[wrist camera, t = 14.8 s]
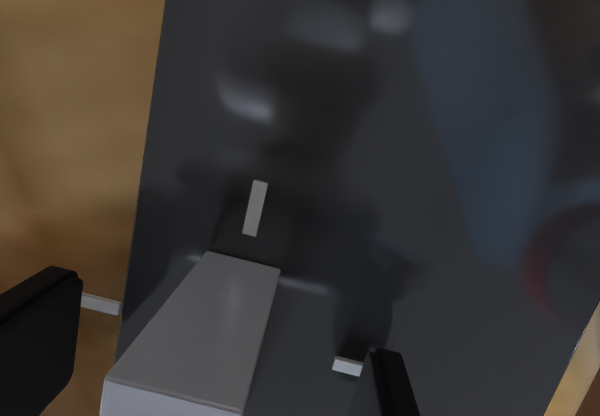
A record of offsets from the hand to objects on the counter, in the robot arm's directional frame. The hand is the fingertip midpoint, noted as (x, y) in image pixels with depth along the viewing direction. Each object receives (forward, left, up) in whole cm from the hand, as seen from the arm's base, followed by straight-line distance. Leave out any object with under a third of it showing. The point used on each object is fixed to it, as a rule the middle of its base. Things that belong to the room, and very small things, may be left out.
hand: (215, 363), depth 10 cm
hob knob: (0, 0, -1) cm, 1 cm away
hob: (-4, +3, -4) cm, 6 cm away
